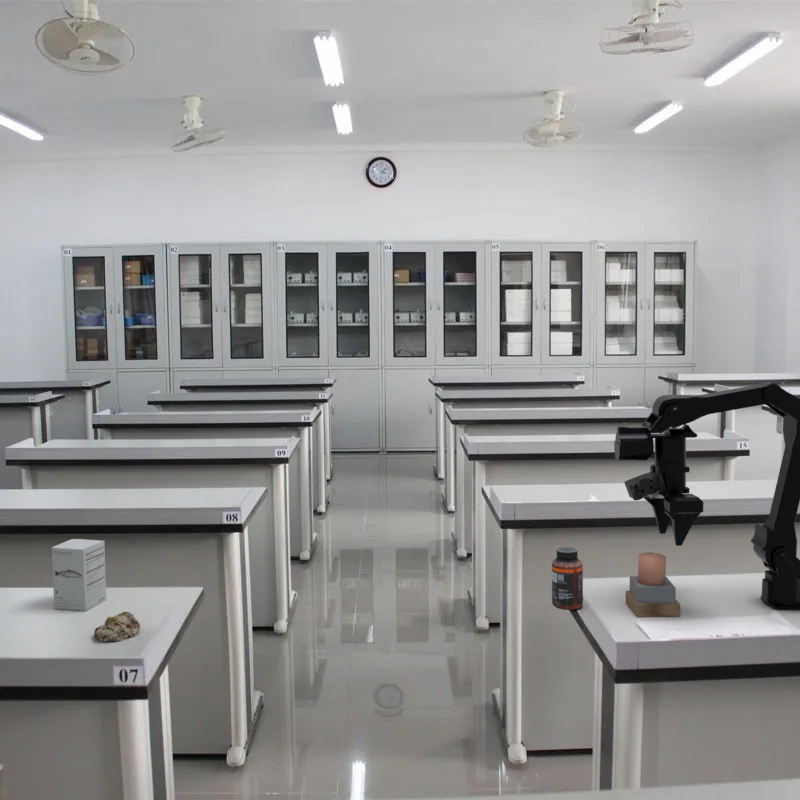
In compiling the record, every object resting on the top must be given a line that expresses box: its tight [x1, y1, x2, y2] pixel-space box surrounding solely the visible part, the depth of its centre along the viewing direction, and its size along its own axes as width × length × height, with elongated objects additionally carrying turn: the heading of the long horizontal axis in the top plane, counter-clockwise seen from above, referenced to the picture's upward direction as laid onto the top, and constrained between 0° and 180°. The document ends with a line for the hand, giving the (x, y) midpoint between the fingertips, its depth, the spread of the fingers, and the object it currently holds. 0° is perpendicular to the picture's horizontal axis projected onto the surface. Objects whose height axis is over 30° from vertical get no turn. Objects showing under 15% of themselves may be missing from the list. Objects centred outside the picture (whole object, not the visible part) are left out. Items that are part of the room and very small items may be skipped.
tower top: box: [629, 575, 677, 603], centre depth 153 cm, size 7×7×3 cm
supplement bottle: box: [551, 546, 584, 611], centre depth 156 cm, size 6×6×11 cm
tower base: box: [625, 590, 681, 618], centre depth 154 cm, size 8×8×3 cm
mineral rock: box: [93, 611, 141, 643], centre depth 146 cm, size 11×4×8 cm
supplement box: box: [51, 538, 107, 612], centre depth 161 cm, size 7×7×13 cm
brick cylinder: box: [637, 551, 667, 586], centre depth 153 cm, size 5×5×5 cm
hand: (670, 539), depth 157 cm, fingers open, 9 cm apart
